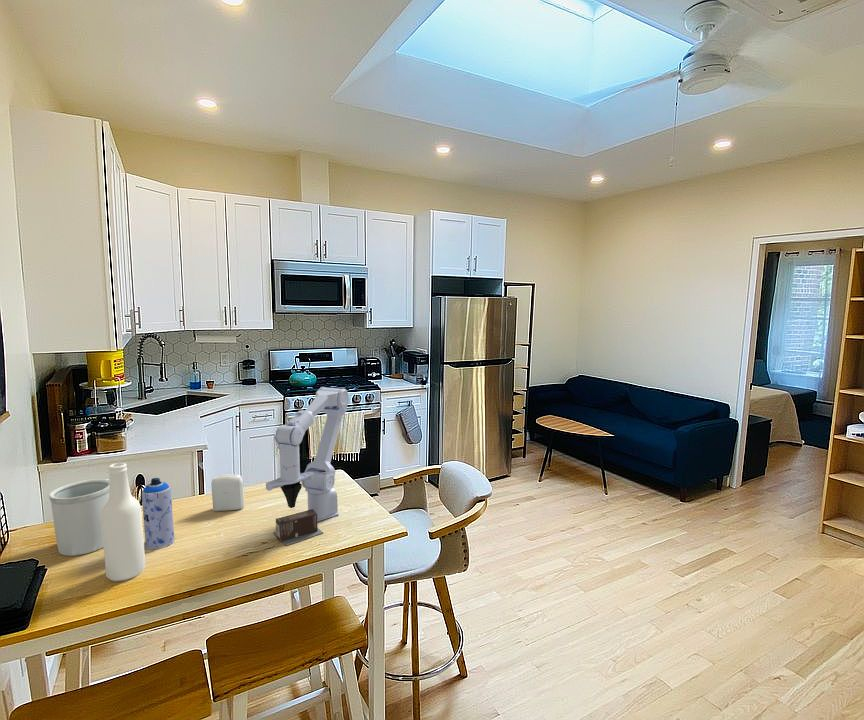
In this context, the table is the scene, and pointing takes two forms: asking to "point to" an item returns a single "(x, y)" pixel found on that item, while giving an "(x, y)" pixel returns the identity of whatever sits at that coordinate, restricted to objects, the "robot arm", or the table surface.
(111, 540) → the alcohol
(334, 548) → the table surface
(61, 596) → the table surface
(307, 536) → the mat
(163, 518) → the aerosol can
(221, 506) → the photo printer
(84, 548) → the utensil holder
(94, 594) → the table surface
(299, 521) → the box
